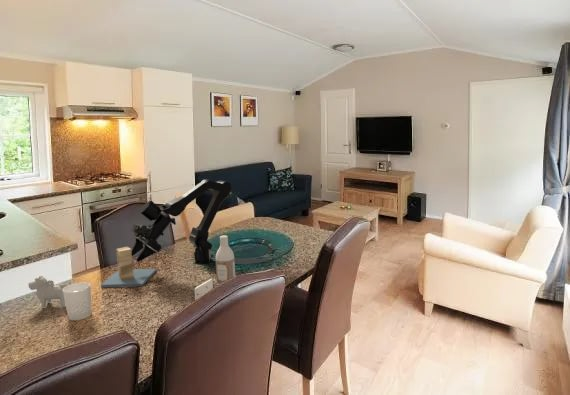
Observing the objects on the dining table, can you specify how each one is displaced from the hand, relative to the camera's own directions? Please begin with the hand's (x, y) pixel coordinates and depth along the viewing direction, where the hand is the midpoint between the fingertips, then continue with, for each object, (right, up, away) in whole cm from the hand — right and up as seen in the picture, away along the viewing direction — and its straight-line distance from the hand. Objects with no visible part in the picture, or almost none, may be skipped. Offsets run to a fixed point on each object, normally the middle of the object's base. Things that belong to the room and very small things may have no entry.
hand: (134, 258), depth 153 cm
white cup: (-6, -14, -30) cm, 34 cm away
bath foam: (+39, -10, -10) cm, 42 cm away
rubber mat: (-2, -8, 0) cm, 9 cm away
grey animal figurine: (-20, -13, -22) cm, 32 cm away
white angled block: (+34, -12, -25) cm, 45 cm away
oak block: (-3, -8, -1) cm, 8 cm away
